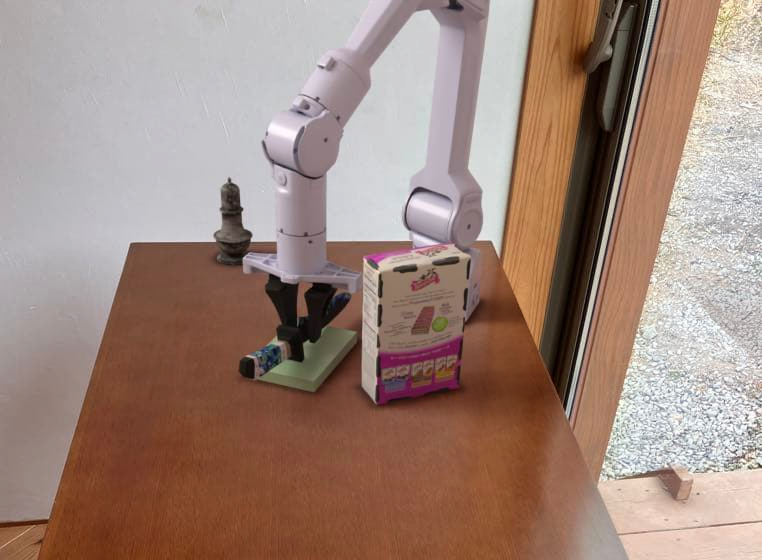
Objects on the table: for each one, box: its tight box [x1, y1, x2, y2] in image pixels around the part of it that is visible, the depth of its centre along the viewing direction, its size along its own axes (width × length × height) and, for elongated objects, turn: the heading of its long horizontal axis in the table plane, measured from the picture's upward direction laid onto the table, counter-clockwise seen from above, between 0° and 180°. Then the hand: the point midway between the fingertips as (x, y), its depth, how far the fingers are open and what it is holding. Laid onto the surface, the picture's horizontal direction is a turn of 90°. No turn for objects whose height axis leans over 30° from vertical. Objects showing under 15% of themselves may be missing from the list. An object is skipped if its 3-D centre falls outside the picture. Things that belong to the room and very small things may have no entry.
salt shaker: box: [212, 176, 254, 266], centre depth 131 cm, size 6×6×12 cm
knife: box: [237, 291, 352, 382], centre depth 109 cm, size 31×3×4 cm, turn 154°
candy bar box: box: [361, 242, 471, 406], centre depth 101 cm, size 11×5×16 cm, turn 114°
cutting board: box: [256, 325, 358, 393], centre depth 111 cm, size 9×14×2 cm, turn 159°
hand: (303, 337), depth 109 cm, fingers open, 3 cm apart
